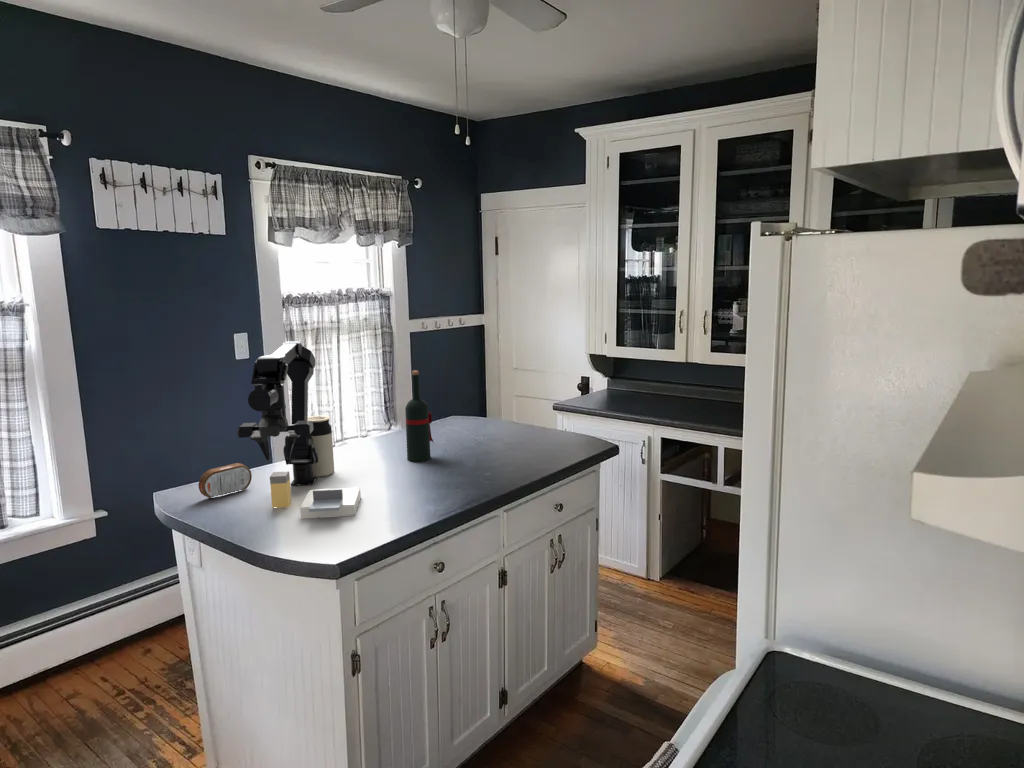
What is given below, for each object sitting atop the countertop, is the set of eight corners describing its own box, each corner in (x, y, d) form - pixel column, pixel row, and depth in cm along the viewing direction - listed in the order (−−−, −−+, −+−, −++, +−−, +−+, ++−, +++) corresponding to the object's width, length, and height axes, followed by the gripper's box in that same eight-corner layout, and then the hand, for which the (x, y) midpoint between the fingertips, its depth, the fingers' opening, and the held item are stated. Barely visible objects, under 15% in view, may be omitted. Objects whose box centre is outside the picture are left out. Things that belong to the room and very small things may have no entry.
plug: (276, 503, 187) (273, 472, 186) (291, 502, 188) (289, 471, 186) (272, 508, 183) (269, 476, 182) (288, 507, 184) (285, 476, 182)
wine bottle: (440, 456, 230) (437, 369, 224) (417, 463, 222) (413, 373, 217) (425, 452, 235) (421, 367, 229) (402, 459, 227) (398, 371, 222)
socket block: (310, 500, 189) (309, 490, 189) (360, 497, 190) (360, 487, 190) (300, 518, 176) (299, 507, 175) (354, 515, 177) (354, 504, 176)
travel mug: (326, 478, 209) (322, 421, 206) (303, 476, 211) (299, 420, 208) (338, 470, 217) (335, 415, 213) (316, 469, 218) (312, 414, 215)
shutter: (314, 501, 178) (313, 489, 178) (343, 500, 179) (342, 488, 178) (309, 511, 171) (308, 499, 170) (339, 510, 172) (338, 497, 171)
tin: (248, 486, 202) (246, 459, 201) (254, 488, 200) (252, 461, 199) (199, 500, 191) (196, 472, 189) (204, 503, 189) (201, 474, 187)
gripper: (228, 411, 172) (233, 470, 174) (303, 408, 174) (308, 466, 176) (241, 402, 183) (246, 458, 185) (311, 399, 184) (315, 455, 187)
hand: (278, 459), depth 183 cm, fingers open, 5 cm apart
